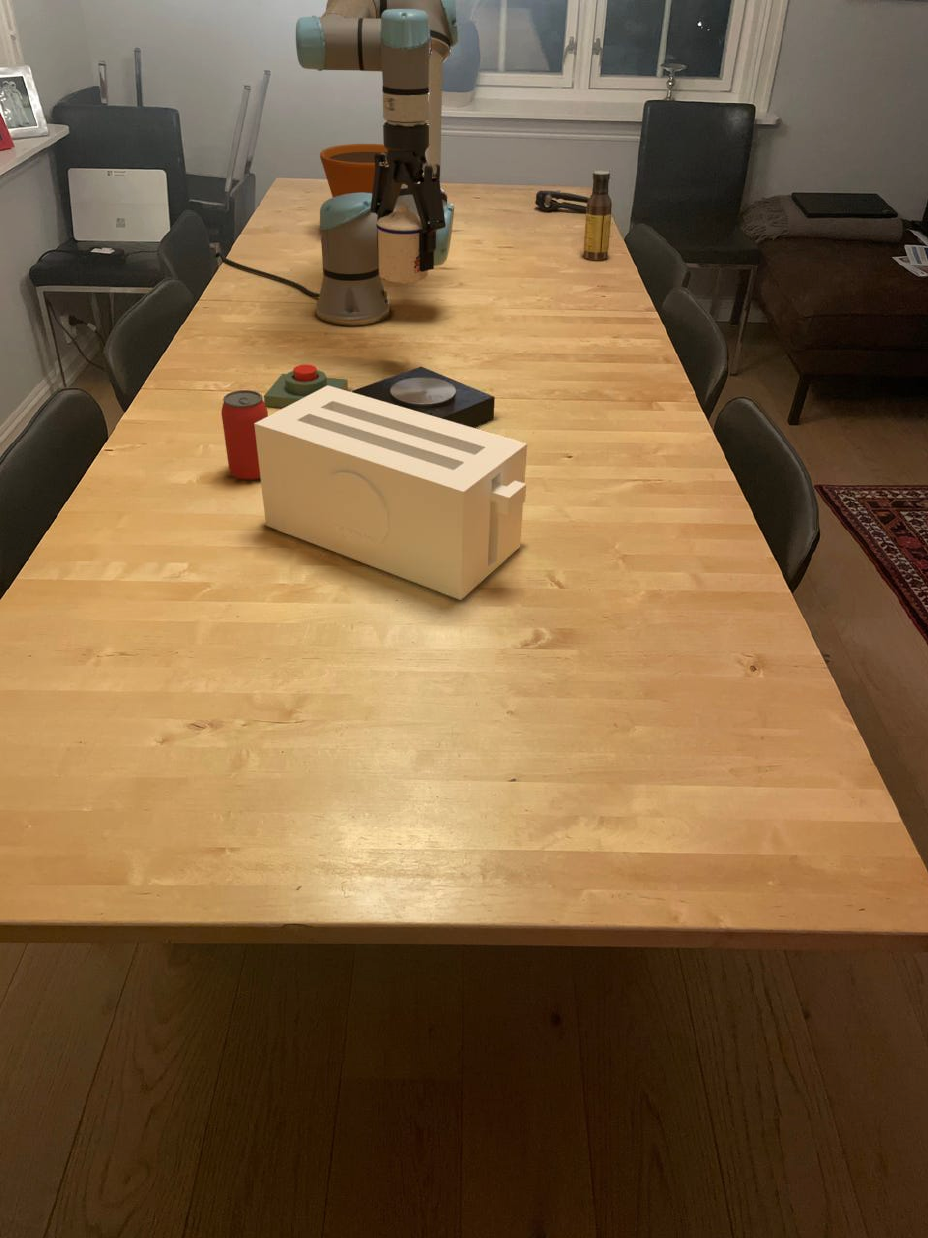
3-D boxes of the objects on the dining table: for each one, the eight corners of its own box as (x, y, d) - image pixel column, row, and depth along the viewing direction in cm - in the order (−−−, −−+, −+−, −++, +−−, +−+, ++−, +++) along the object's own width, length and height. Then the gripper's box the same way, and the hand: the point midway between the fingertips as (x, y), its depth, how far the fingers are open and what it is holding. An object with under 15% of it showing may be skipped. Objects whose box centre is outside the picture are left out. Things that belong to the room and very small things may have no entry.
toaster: (262, 528, 132) (250, 425, 123) (334, 482, 143) (327, 385, 134) (478, 611, 118) (482, 502, 109) (539, 553, 129) (548, 449, 120)
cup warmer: (351, 411, 164) (349, 386, 161) (419, 386, 173) (419, 361, 170) (425, 447, 154) (425, 421, 151) (493, 418, 163) (495, 393, 160)
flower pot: (413, 250, 242) (412, 164, 230) (319, 247, 242) (313, 161, 230) (418, 225, 261) (417, 144, 249) (331, 222, 261) (326, 142, 249)
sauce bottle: (602, 253, 244) (611, 168, 232) (610, 260, 239) (620, 174, 227) (578, 254, 242) (586, 169, 231) (586, 261, 238) (594, 174, 226)
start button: (290, 381, 164) (290, 372, 163) (298, 373, 168) (297, 363, 167) (313, 383, 164) (312, 374, 163) (320, 375, 167) (319, 365, 166)
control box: (264, 406, 165) (262, 384, 162) (283, 383, 173) (281, 362, 170) (332, 413, 163) (331, 390, 161) (348, 389, 171) (346, 368, 169)
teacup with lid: (424, 284, 166) (425, 214, 159) (373, 281, 167) (371, 210, 160) (435, 264, 175) (435, 196, 169) (386, 261, 176) (384, 193, 169)
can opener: (533, 212, 276) (534, 191, 272) (535, 206, 281) (537, 185, 278) (594, 216, 273) (597, 195, 270) (596, 210, 279) (598, 189, 276)
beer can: (236, 485, 142) (226, 410, 135) (224, 466, 147) (213, 392, 140) (279, 476, 145) (272, 402, 137) (265, 458, 149) (257, 385, 142)
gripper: (345, 114, 160) (351, 253, 173) (435, 133, 148) (435, 282, 161) (379, 110, 164) (382, 246, 178) (469, 128, 152) (466, 273, 165)
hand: (407, 263), depth 169 cm, fingers closed on teacup with lid, 9 cm apart
